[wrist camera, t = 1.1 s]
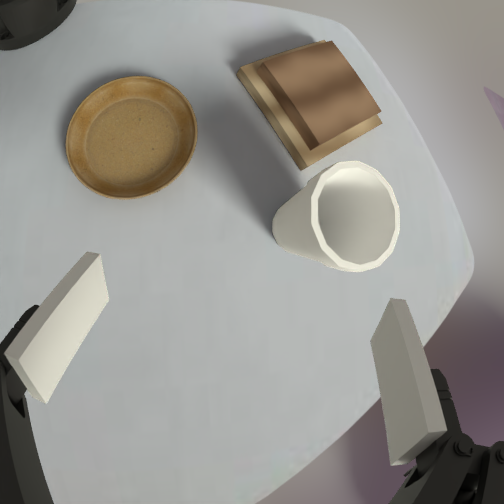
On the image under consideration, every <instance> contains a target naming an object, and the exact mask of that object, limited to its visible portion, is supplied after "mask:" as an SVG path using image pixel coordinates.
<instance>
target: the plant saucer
mask: <svg viewBox="0 0 504 504" xmlns="http://www.w3.org/2000/svg"><path fill="white" fill-rule="evenodd" d="M196 142H197V121H196V117H195V114H194V111H193V109H192V106H191V104H190V103H189V101H188V100H187V98H186V97H185V96H184V95H183V94H182V93H181V92H180V91H179V90H178V89H176V88H175V87H174V86H172V85H171V84H169V83H167V82H165V81H162V80H160V79H156V78H152V77H146V76H130V77H124V78H119V79H116V80H113V81H110V82H108V83H106V84H104V85H102V86H100V87H99V88H97V89H96V90H95V91H93V92H92V93H91V94H89V95H88V96H87V97H86V98H85V99H84V100H83V101H82V102H81V104H80V105H79V106H78V108H77V109H76V111H75V113H74V114H73V116H72V118H71V120H70V123H69V126H68V130H67V134H66V154H67V158H68V162H69V165H70V167H71V169H72V171H73V173H74V174H75V176H76V177H77V178H78V180H79V181H80V182H81V183H82V184H83V185H84V186H85V187H87V188H88V189H90V190H91V191H93V192H95V193H97V194H99V195H102V196H105V197H107V198H112V199H120V200H127V199H136V198H141V197H145V196H148V195H151V194H154V193H156V192H158V191H160V190H161V189H163V188H165V187H166V186H168V185H169V184H171V183H172V182H173V181H174V180H175V179H176V178H177V177H178V176H179V175H180V174H181V173H182V172H183V171H184V169H185V168H186V166H187V165H188V163H189V162H190V160H191V158H192V155H193V153H194V150H195V147H196Z"/></svg>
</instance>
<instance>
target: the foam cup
mask: <svg viewBox="0 0 504 504" xmlns="http://www.w3.org/2000/svg"><path fill="white" fill-rule="evenodd" d="M399 232H400V215H399V206H398V203H397V201H396V198H395V195H394V193H393V190H392V187H391V186H390V184H389V183H388V182H387V181H386V180H385V179H384V177H383V176H382V175H381V174H380V173H379V172H378V171H377V170H376V169H374V168H372V167H370V166H368V165H366V164H364V163H362V162H360V161H347V162H337V163H335V164H333V165H331V166H329V167H327V168H325V169H324V170H322V171H321V172H320V173H318V174H317V175H316V176H314V177H313V178H312V179H310V180H309V181H308V183H307V185H306V186H305V187H304V188H303V189H302V190H300V191H299V192H298V193H297V194H296V195H294V196H293V197H292V198H291V199H290V200H288V201H287V202H286V203H285V204H284V205H282V206H281V207H280V208H279V209H278V210H277V212H276V214H275V216H274V218H273V220H272V233H273V235H274V238H275V240H276V242H277V244H278V245H279V246H280V247H281V248H283V249H284V250H285V251H286V252H289V253H292V254H296V255H299V256H302V257H306V258H309V259H312V260H315V261H319V262H322V263H323V264H324V265H325V266H328V267H331V268H335V269H339V270H342V271H349V272H362V271H366V270H369V269H372V268H376V267H379V266H380V265H381V264H382V263H383V262H384V260H385V259H386V258H387V257H388V256H389V255H390V254H391V253H392V252H393V249H394V247H395V244H396V241H397V238H398V235H399Z"/></svg>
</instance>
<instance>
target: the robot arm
mask: <svg viewBox="0 0 504 504" xmlns="http://www.w3.org/2000/svg"><path fill="white" fill-rule="evenodd" d="M75 4H76V0H0V50H14V49H18V48H22V47H25V46H27V45H29V44H32V43H34V42H36V41H38V40H39V39H41V38H43V37H44V36H46V35H47V34H49V33H50V32H52V31H53V30H54V29H55V28H57V27H58V26H59V25H60V24H61V23H62V22H63V21H64V20H65V19H66V18H67V17H68V16H69V14H70V13H71V11H72V10H73V8H74V6H75ZM108 301H109V296H108V292H107V287H106V282H105V277H104V272H103V266H102V261H101V255H100V254H97V253H92V252H86V253H85V254H84V255H83V257H82V258H81V259H80V260H79V261H78V262H77V263H76V264H75V265H74V267H73V268H72V269H71V270H70V271H69V272H68V273H67V274H66V276H65V277H64V278H63V279H62V280H61V281H60V282H59V284H58V285H57V286H56V287H55V288H54V290H53V291H52V292H51V293H50V294H49V295H48V297H47V298H46V299H45V300H44V302H43V303H42V304H41V305H40V306H38V305H34V306H32V307H31V308H30V309H28V310H27V311H25V313H24V314H23V315H22V316H21V318H20V319H19V321H17V323H16V324H15V325H14V328H12V329H11V330H10V332H9V333H8V334H7V336H6V337H5V338H4V340H3V341H2V342H1V344H0V504H54V503H53V500H52V497H51V494H50V492H49V489H48V486H47V483H46V480H45V476H44V473H43V470H42V466H41V463H40V459H39V456H38V452H37V448H36V444H35V440H34V436H33V431H32V427H31V422H30V417H29V412H28V407H27V401H26V398H25V395H24V393H25V392H26V390H28V392H29V393H30V394H31V396H32V397H33V398H35V399H37V400H39V401H41V402H43V403H46V404H47V402H48V400H49V398H50V397H51V395H52V393H53V391H54V389H55V388H56V386H57V384H58V382H59V380H60V379H61V377H62V375H63V373H64V372H65V370H66V368H67V367H68V365H69V363H70V362H71V360H72V358H73V356H74V355H75V353H76V351H77V350H78V348H79V347H80V345H81V343H82V342H83V340H84V338H85V337H86V335H87V334H88V332H89V330H90V329H91V327H92V326H93V324H94V322H95V321H96V319H97V318H98V316H99V315H100V313H101V312H102V310H103V309H104V307H105V306H106V304H107V302H108ZM370 342H371V347H372V352H373V357H374V362H375V367H376V372H377V377H378V383H379V389H380V394H381V400H382V406H383V412H384V419H385V426H386V433H387V441H388V449H389V457H390V465H401V464H408V463H409V462H411V461H412V460H413V459H415V458H416V463H417V465H416V466H414V467H413V468H412V469H410V470H409V471H407V472H406V473H405V474H404V476H405V477H406V476H407V475H408V474H409V475H408V477H407V478H406V480H405V481H404V483H403V484H402V486H401V487H400V489H399V490H398V492H397V493H396V494H395V496H394V497H393V498H392V500H391V501H390V503H389V504H504V441H498V442H496V443H495V444H493V445H492V446H491V447H485V446H481V445H476V444H474V442H473V441H472V439H471V438H470V437H469V436H468V435H466V434H464V433H462V431H461V428H460V424H459V421H458V417H457V413H456V410H455V407H454V403H453V401H452V396H451V393H450V392H449V387H448V384H447V381H446V378H445V377H444V376H443V374H442V373H441V372H440V370H439V369H430V367H429V364H428V361H427V358H426V355H425V352H424V349H423V346H422V343H421V341H420V338H419V335H418V332H417V329H416V327H415V324H414V321H413V318H412V316H411V313H410V311H409V308H408V305H407V303H406V300H402V299H393V298H390V301H389V303H388V305H387V307H386V309H385V312H384V314H383V316H382V318H381V320H380V322H379V324H378V326H377V328H376V331H375V333H374V335H373V337H372V339H371V341H370Z"/></svg>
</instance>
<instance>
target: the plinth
mask: <svg viewBox="0 0 504 504" xmlns="http://www.w3.org/2000/svg"><path fill="white" fill-rule="evenodd" d="M237 77H238V78H239V79H240V81H241V82H242V84H243V85H244V86H245V88H246V89H247V91H248V92H249V93H250V95H251V96H252V98H253V99H254V101H255V102H256V103H257V105H258V106H259V108H260V109H261V111H262V112H263V114H264V115H265V117H266V118H267V119H268V121H269V122H270V124H271V125H272V127H273V128H274V130H275V131H276V133H277V134H278V136H279V138H280V139H281V141H282V142H283V144H284V145H285V147H286V148H287V150H288V151H289V153H290V155H291V156H292V158H293V159H294V161H295V162H296V164H297V166H298V167H299V169H300V170H303V169H305V168H307V167H308V166H310V165H312V164H313V163H315V162H317V161H318V160H320V159H322V158H323V157H325V156H327V155H329V154H330V153H332V152H334V151H335V150H337V149H339V148H340V147H342V146H344V145H346V144H347V143H349V142H351V141H352V140H354V139H356V138H358V137H359V136H361V135H363V134H365V133H366V132H368V131H370V130H372V129H373V128H375V127H377V126H379V125H380V124H382V122H381V120H380V118H379V117H378V115H377V114H378V113H380V112H381V110H380V108H379V107H378V105H377V103H376V102H375V100H374V99H373V97H372V96H371V94H370V93H369V91H368V90H367V88H366V87H365V85H364V84H363V82H362V81H361V79H360V78H359V77H358V75H357V74H356V72H355V71H354V69H353V68H352V67H351V65H350V64H349V63H348V61H347V60H346V58H345V57H344V56H343V54H342V53H341V52H340V51H339V49H338V48H337V47H336V45H335V44H334V43H333V41H328V42H326V41H325V40H322V41H319V42H315V43H311V44H308V45H304V46H301V47H298V48H294V49H291V50H288V51H285V52H282V53H279V54H275V55H273V56H270V57H267V58H264V59H261V60H258V61H255V62H253V63H250V64H247V65H245V66H242V67H240V69H239V71H238V73H237Z"/></svg>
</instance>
